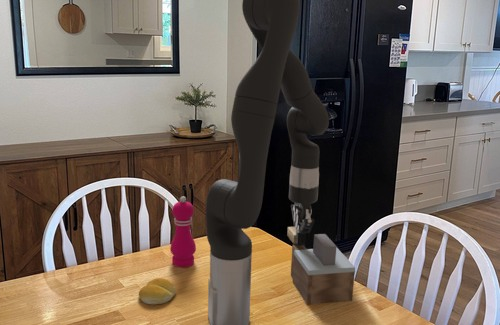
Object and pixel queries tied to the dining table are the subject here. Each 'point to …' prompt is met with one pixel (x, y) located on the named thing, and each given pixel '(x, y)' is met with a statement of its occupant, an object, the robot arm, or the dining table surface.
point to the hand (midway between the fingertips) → (300, 244)
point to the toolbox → (321, 283)
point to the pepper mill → (183, 234)
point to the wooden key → (292, 234)
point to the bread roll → (157, 291)
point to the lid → (323, 258)
